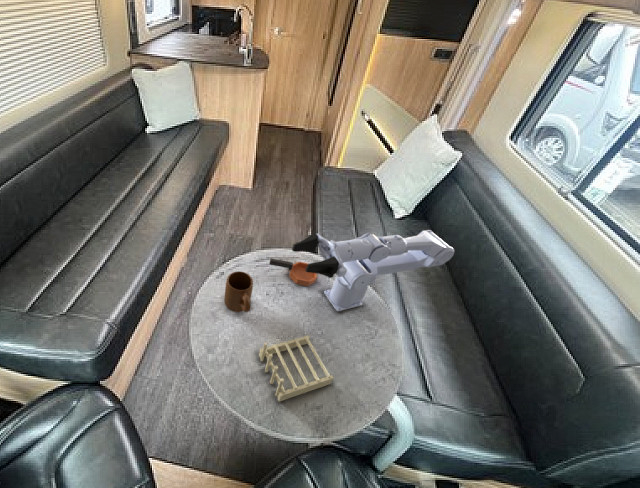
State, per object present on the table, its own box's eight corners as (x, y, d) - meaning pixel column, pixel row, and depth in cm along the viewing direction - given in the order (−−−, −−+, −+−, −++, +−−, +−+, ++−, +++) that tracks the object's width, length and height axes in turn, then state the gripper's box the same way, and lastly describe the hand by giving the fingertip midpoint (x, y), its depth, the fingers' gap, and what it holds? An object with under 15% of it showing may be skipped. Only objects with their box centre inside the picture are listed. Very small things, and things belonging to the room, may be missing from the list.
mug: (258, 323, 90) (263, 301, 84) (232, 328, 87) (235, 306, 82) (244, 290, 99) (248, 269, 93) (221, 295, 97) (223, 272, 91)
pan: (315, 269, 110) (318, 259, 107) (315, 288, 103) (319, 278, 100) (269, 260, 111) (271, 250, 108) (266, 278, 104) (268, 268, 101)
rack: (306, 341, 87) (312, 325, 83) (330, 383, 78) (338, 368, 74) (257, 355, 82) (261, 339, 78) (278, 402, 73) (283, 386, 69)
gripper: (334, 223, 89) (291, 227, 85) (366, 259, 78) (318, 266, 74) (327, 242, 93) (285, 247, 89) (356, 279, 82) (310, 287, 78)
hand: (299, 257), depth 82 cm, fingers open, 7 cm apart
